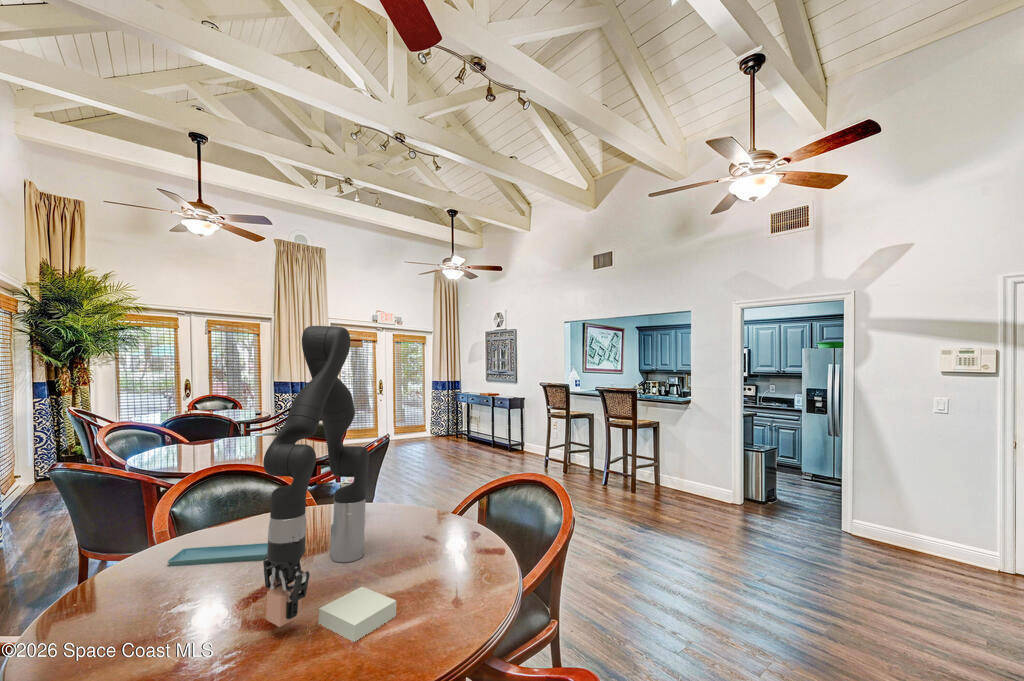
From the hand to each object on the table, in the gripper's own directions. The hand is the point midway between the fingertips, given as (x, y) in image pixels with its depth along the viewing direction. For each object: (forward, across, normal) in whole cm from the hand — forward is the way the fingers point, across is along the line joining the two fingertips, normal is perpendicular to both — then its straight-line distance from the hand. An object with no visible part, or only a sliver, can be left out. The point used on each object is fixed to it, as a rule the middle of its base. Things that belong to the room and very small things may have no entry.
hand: (284, 612), depth 98 cm
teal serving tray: (+5, -50, +12) cm, 51 cm away
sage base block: (+4, +10, +12) cm, 16 cm away
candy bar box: (+5, -42, +51) cm, 66 cm away
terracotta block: (+1, 0, 0) cm, 1 cm away
